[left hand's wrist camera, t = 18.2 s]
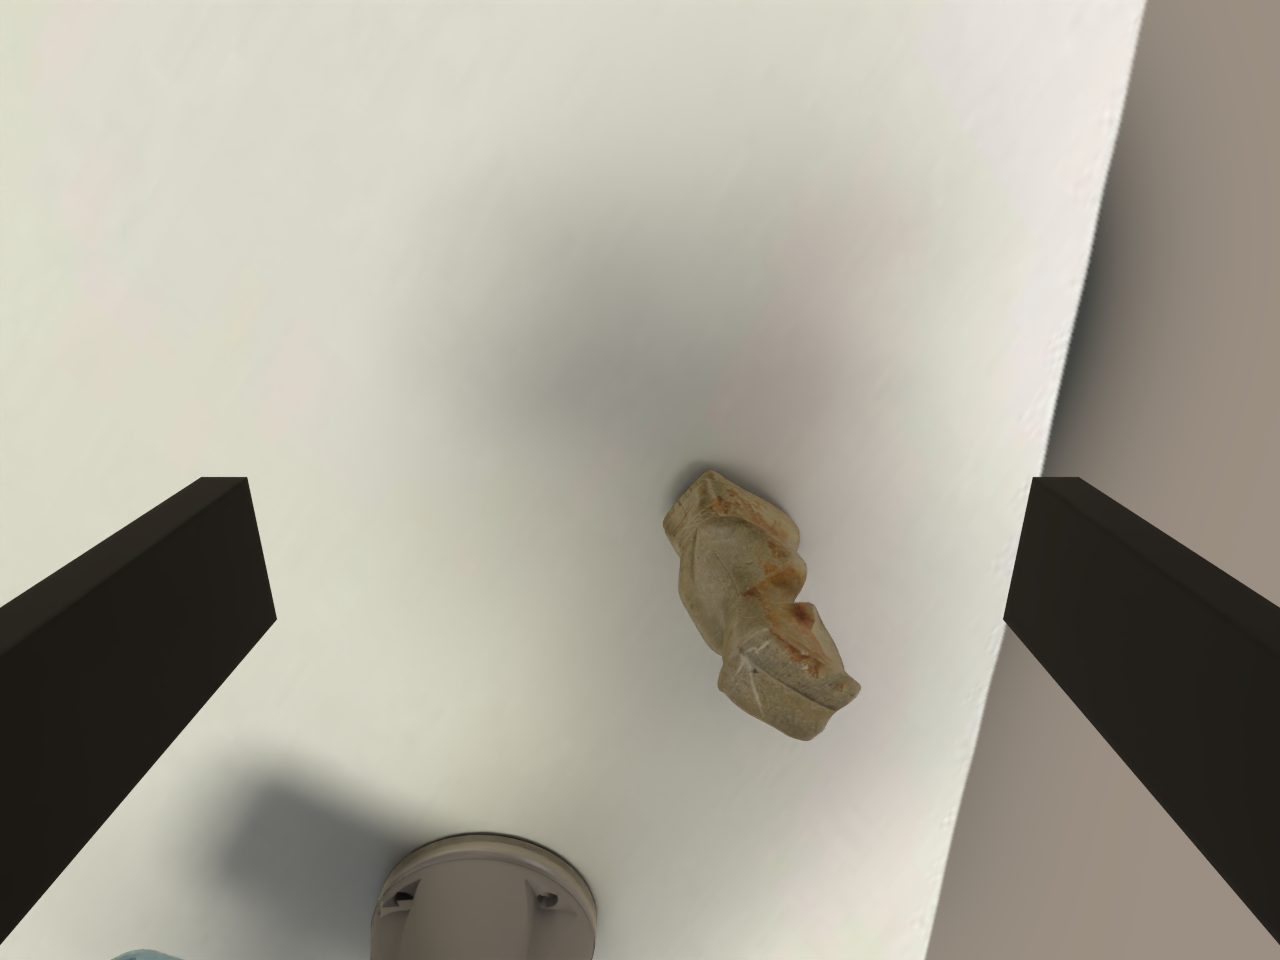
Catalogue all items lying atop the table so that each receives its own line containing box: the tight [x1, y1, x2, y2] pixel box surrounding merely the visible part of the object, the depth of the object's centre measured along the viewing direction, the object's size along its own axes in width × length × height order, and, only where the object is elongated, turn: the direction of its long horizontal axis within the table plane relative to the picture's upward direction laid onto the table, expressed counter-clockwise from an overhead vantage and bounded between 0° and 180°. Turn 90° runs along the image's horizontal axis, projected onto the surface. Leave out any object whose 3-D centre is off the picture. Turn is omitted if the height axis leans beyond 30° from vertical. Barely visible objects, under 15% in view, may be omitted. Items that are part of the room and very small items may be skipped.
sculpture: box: [663, 470, 861, 741], centre depth 34 cm, size 6×7×15 cm
